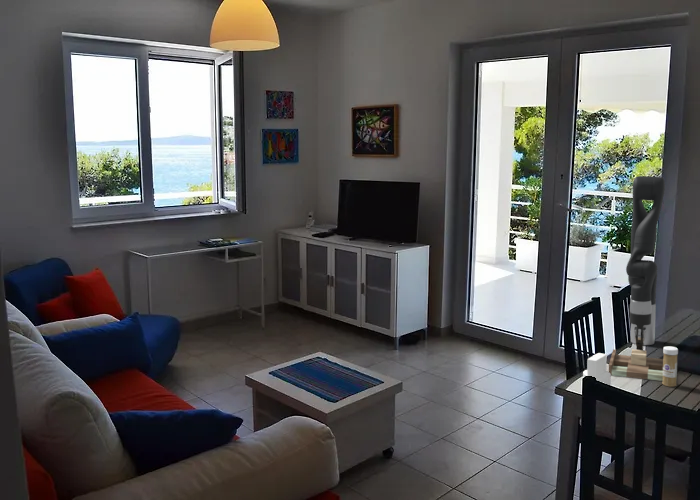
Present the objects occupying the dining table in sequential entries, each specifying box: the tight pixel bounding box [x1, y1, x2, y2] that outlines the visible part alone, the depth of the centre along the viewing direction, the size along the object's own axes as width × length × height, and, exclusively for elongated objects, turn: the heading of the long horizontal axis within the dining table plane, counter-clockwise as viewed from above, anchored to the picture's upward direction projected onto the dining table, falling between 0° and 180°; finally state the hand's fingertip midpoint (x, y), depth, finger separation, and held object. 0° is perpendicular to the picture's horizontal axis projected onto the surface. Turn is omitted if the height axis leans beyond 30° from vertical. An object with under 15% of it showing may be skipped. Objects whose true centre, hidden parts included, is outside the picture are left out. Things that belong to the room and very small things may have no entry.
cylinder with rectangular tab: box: [582, 352, 612, 385], centre depth 215 cm, size 9×9×12 cm
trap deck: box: [608, 349, 664, 382], centre depth 233 cm, size 19×19×4 cm
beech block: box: [630, 348, 648, 366], centre depth 235 cm, size 6×5×4 cm
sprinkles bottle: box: [661, 345, 679, 387], centre depth 217 cm, size 5×5×14 cm
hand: (639, 354), depth 241 cm, fingers closed
